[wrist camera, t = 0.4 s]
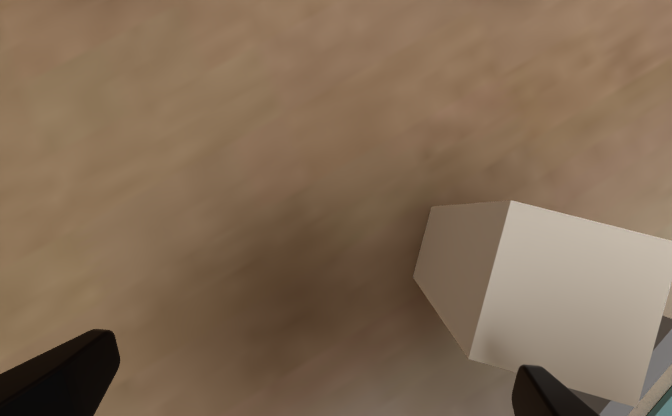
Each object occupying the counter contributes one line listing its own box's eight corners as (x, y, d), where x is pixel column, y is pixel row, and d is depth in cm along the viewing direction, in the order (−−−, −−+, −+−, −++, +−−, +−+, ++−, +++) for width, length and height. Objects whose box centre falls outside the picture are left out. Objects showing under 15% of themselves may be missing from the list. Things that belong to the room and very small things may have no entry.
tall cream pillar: (485, 296, 23) (637, 407, 10) (412, 276, 23) (468, 359, 10) (504, 225, 23) (682, 243, 10) (431, 206, 23) (510, 200, 10)
